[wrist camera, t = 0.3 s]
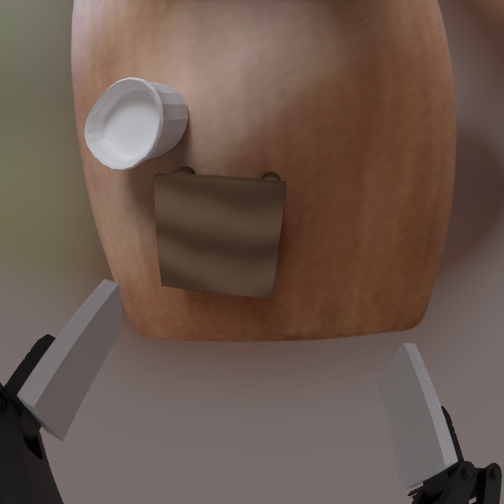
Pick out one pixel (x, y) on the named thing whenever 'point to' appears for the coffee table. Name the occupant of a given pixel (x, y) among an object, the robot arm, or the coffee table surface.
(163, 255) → the footstool
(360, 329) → the coffee table surface
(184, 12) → the coffee table surface
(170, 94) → the cup
